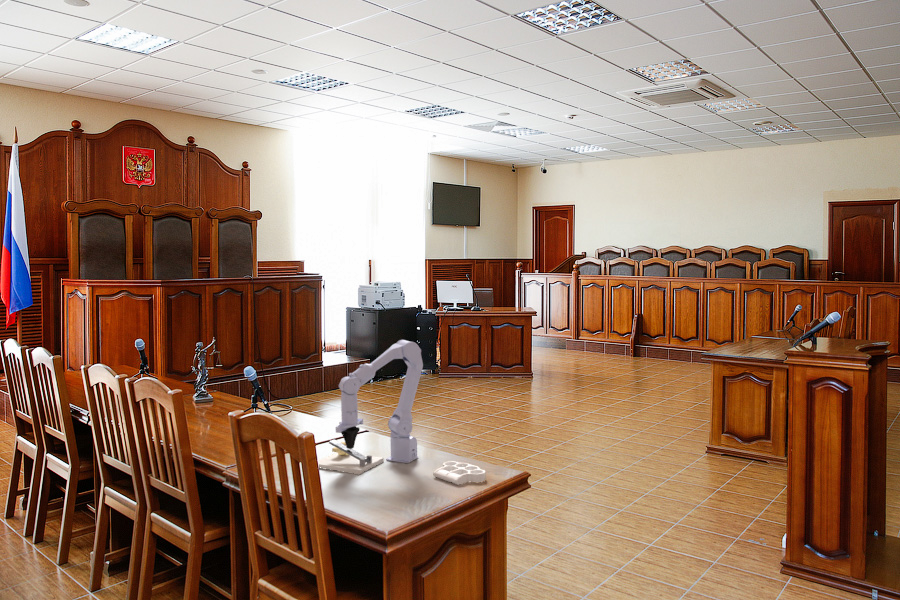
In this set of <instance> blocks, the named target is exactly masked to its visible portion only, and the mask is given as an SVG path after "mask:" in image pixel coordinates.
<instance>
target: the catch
mask: <svg viewBox="0 0 900 600" xmlns="http://www.w3.org/2000/svg"><path fill="white" fill-rule="evenodd" d="M340 443H342V444H344V445H346V443H345V441H341V442H340ZM331 451H332V453H337V452H338V455H345V456H346V455H349V454H347V453H345V452H344V451H342V450H340V449H338V448H337V447H335V446H333V448H331Z"/></svg>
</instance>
